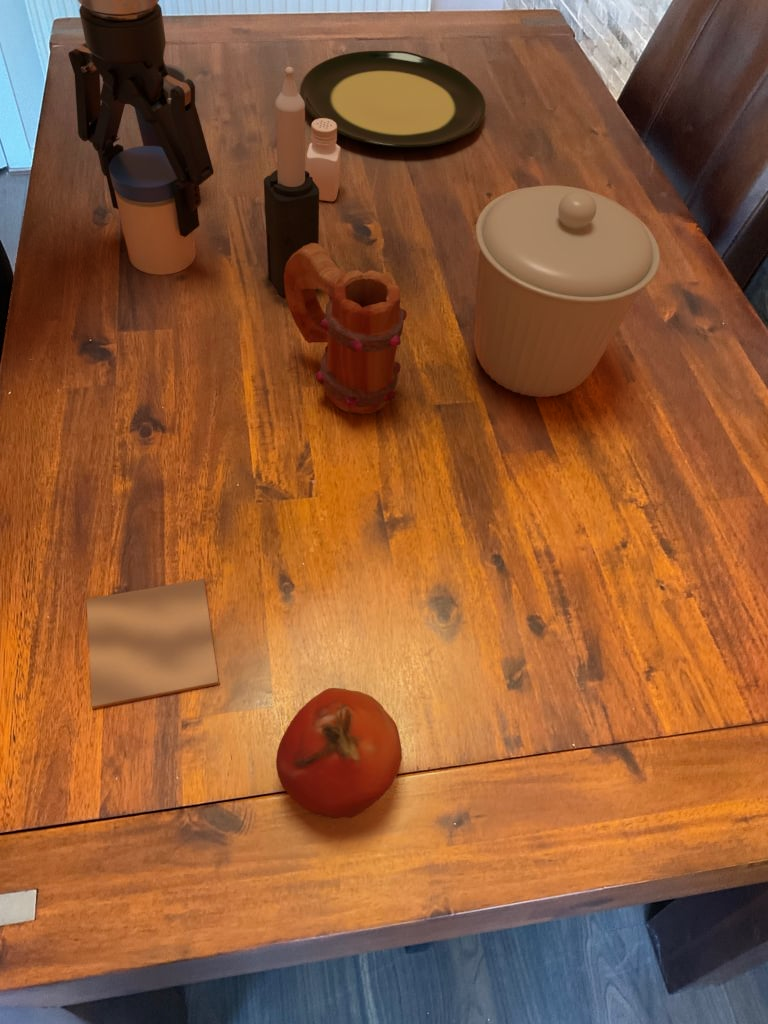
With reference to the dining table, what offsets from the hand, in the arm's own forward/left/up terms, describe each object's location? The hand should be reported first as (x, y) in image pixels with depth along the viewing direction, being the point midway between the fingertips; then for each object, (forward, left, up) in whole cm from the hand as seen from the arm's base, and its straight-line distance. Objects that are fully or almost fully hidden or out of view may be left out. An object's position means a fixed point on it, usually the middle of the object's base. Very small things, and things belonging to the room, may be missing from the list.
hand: (156, 216), depth 93 cm
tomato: (+49, -45, -5) cm, 67 cm away
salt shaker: (+10, +22, -5) cm, 25 cm away
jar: (0, 0, -5) cm, 5 cm away
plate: (+8, +47, -5) cm, 48 cm away
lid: (0, 0, +6) cm, 6 cm away
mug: (+29, -8, -5) cm, 31 cm away
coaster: (+30, -43, -5) cm, 53 cm away
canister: (+46, +6, -5) cm, 47 cm away
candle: (+16, +4, -5) cm, 17 cm away
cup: (-6, +11, -5) cm, 14 cm away
